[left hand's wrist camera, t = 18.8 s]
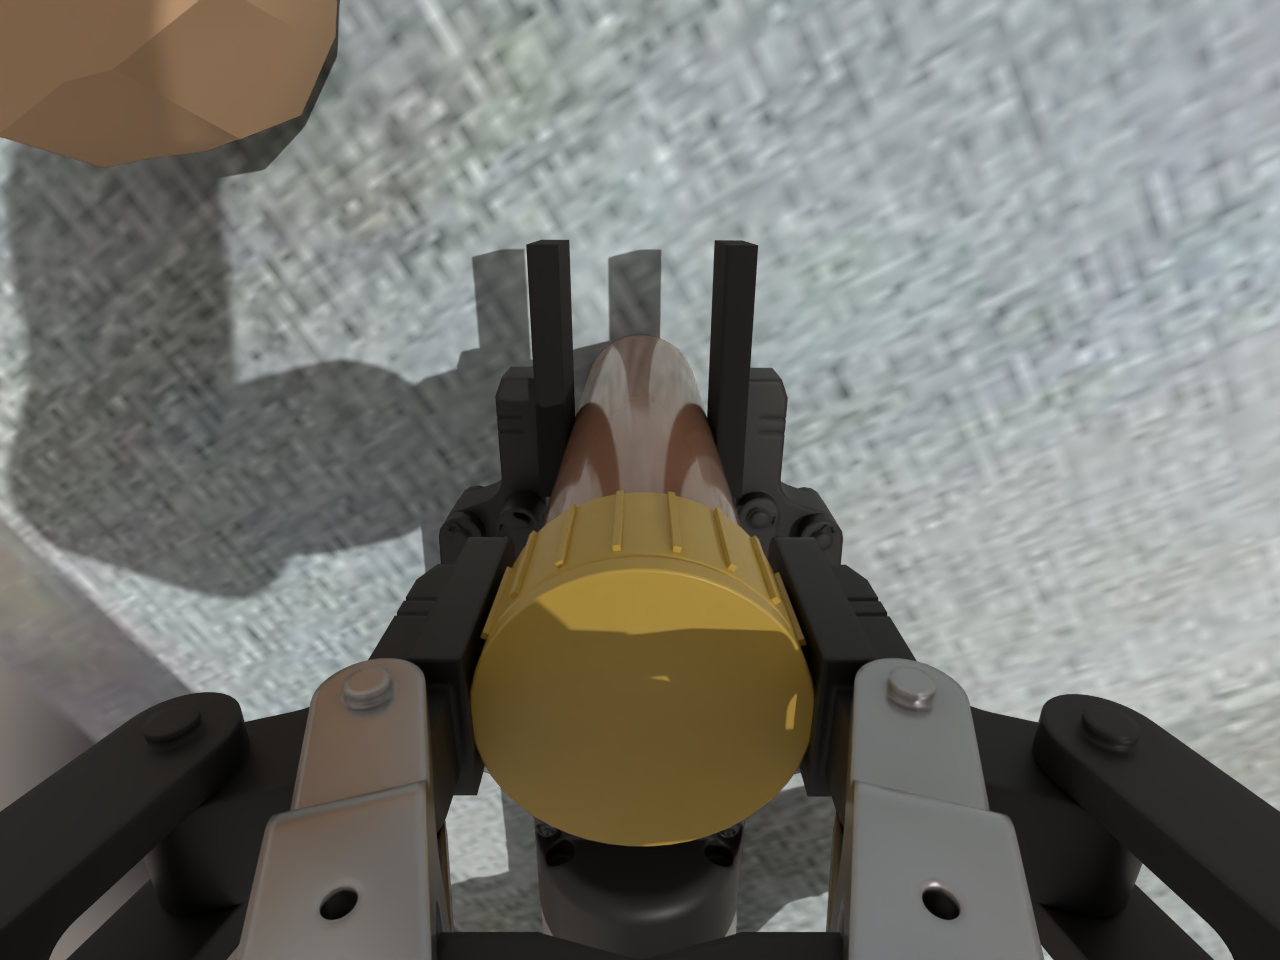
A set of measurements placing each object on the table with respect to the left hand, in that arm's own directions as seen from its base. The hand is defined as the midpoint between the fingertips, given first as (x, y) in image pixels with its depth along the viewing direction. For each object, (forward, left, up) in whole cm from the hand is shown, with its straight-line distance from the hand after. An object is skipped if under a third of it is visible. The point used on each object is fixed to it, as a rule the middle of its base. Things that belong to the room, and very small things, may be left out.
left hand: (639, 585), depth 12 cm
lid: (0, 0, +3) cm, 3 cm away
